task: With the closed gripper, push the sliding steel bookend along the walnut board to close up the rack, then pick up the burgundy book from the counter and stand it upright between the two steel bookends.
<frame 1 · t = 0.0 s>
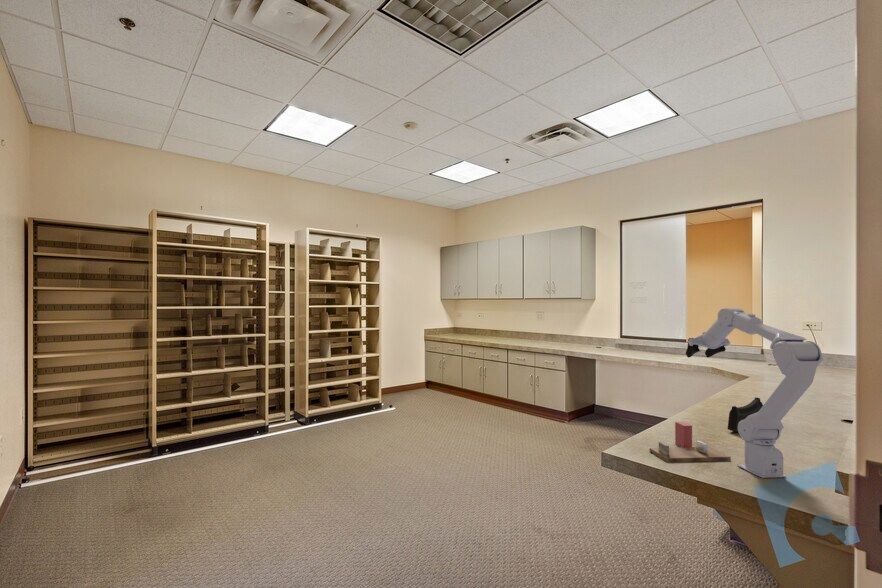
hand: (697, 355, 161), 32 cm above the worktop, tool tilted 50°, fingers open, 7 cm apart
book: (683, 445, 156), on the worktop
rack: (689, 455, 146), on the worktop
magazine: (747, 428, 181), on the worktop
sliding bookend: (701, 446, 146), point 3 cm above the worktop, slide at 5.0 cm
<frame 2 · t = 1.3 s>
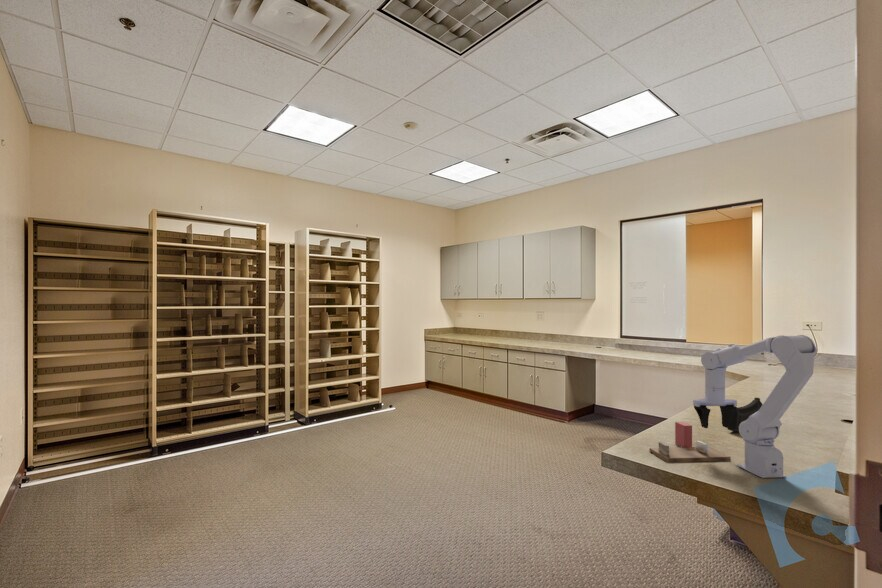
hand: (715, 427, 147), 9 cm above the worktop, tool pointing down, fingers open, 7 cm apart
nothing on the worktop moved.
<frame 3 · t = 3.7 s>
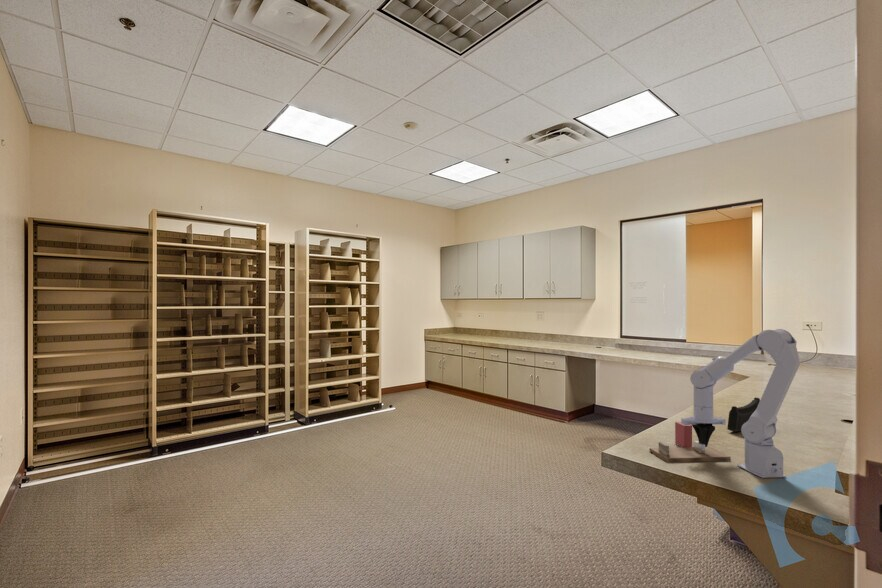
hand: (703, 445, 146), 3 cm above the worktop, tool pointing down, fingers closed
sliding bookend: (699, 447, 146), point 3 cm above the worktop, slide at 4.0 cm, touching gripper
everything else where it was.
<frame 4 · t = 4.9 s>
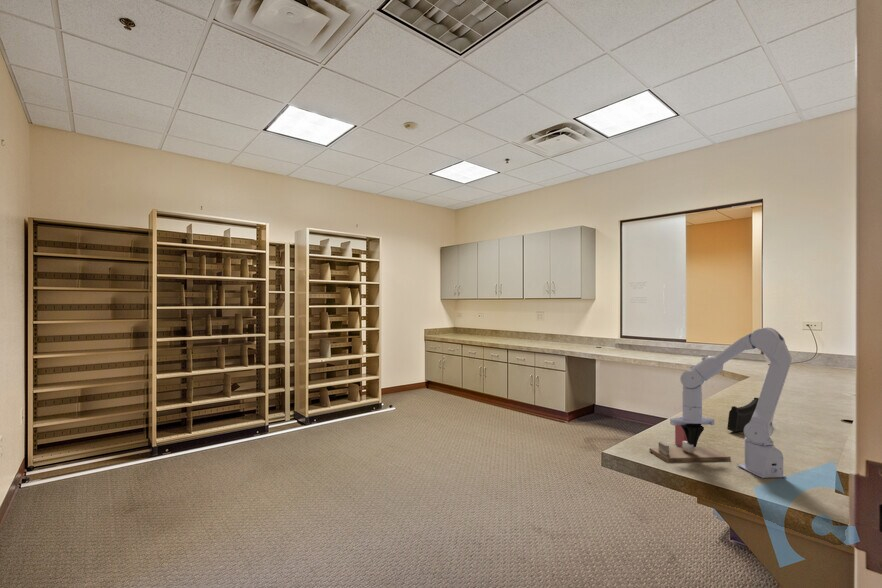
hand: (692, 446, 146), 3 cm above the worktop, tool pointing down, fingers closed
sliding bookend: (687, 447, 146), point 3 cm above the worktop, slide at 0.0 cm, touching gripper
everything else where it was.
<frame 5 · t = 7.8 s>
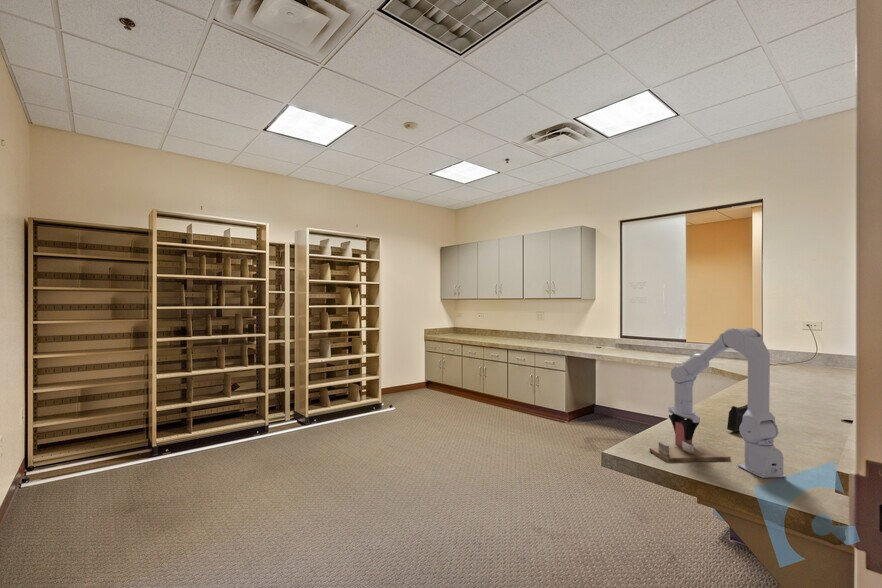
hand: (683, 437, 156), 3 cm above the worktop, tool pointing down, fingers closed on book, 5 cm apart
book: (683, 445, 156), on the worktop, touching gripper
sliding bookend: (687, 447, 146), point 3 cm above the worktop, slide at 0.0 cm
everything else where it was.
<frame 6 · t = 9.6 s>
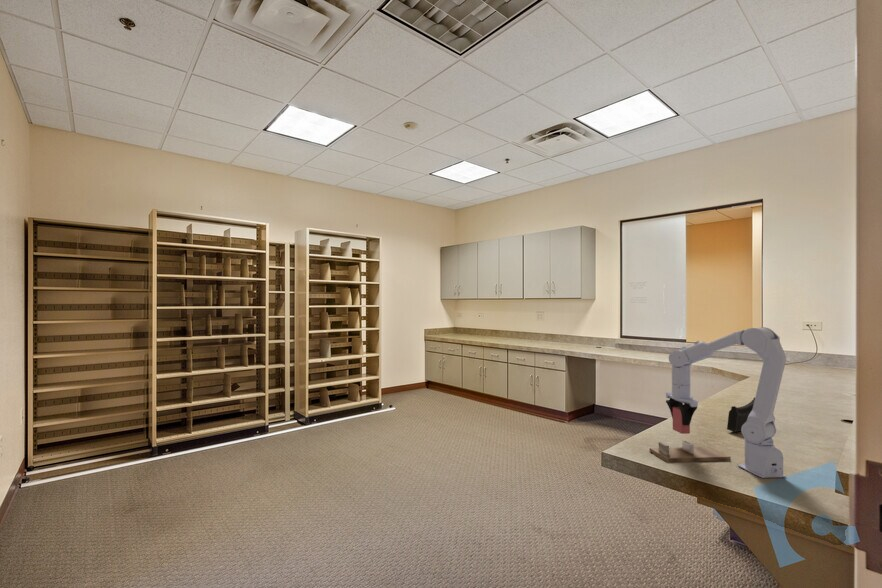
hand: (681, 422, 152), 9 cm above the worktop, tool pointing down, fingers closed on book, 5 cm apart
book: (681, 431, 152), point 6 cm above the worktop, touching gripper
everything else where it was.
when the fingers open (5 cm above the worktop, at t = 11.4 s): book stays where it is, resting on rack.
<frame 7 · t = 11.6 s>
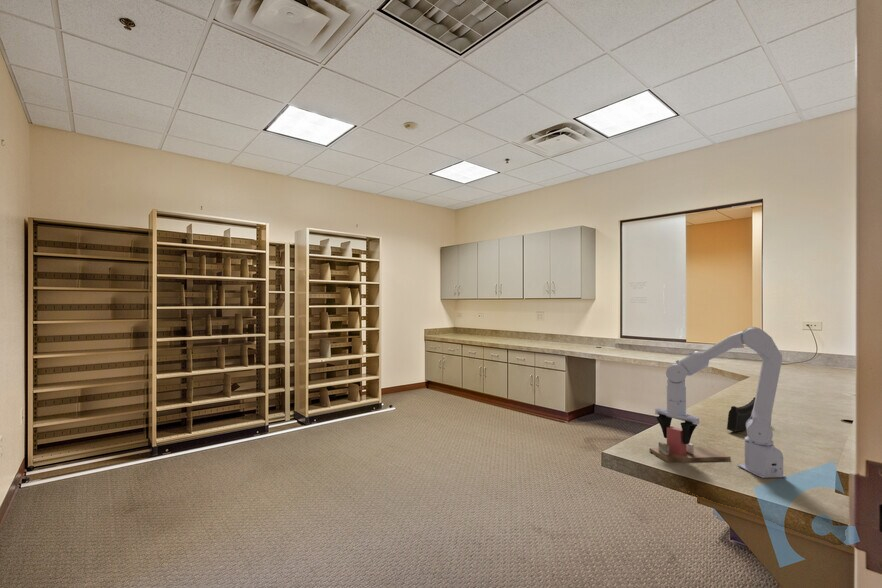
hand: (676, 440, 145), 5 cm above the worktop, tool pointing down, fingers open, 6 cm apart
book: (676, 452, 145), point 1 cm above the worktop, touching rack
everything else where it was.
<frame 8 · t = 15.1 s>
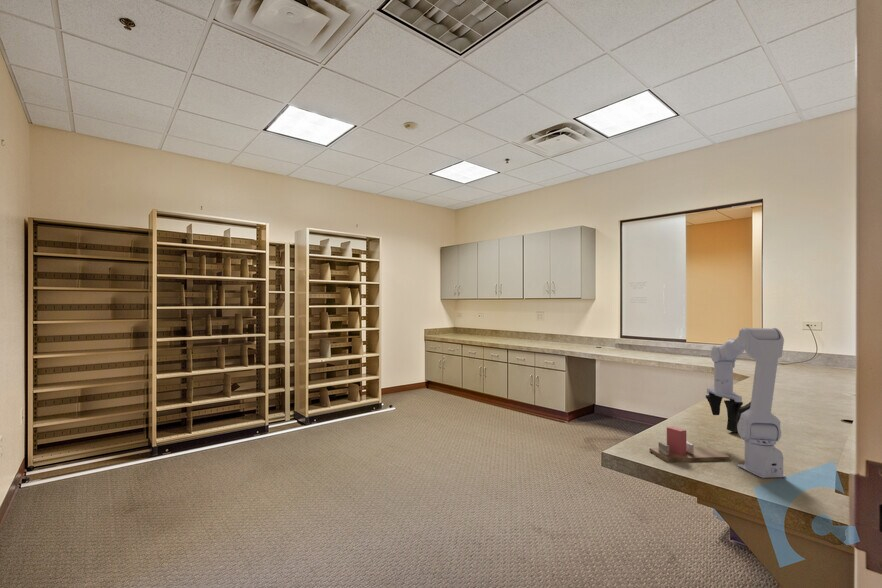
hand: (723, 417, 156), 10 cm above the worktop, tool pointing down, fingers open, 7 cm apart
nothing on the worktop moved.
at the end: sliding bookend slide at 0.0 cm; book 0.0 cm from the target spot on the rack, point 1.2 cm above the rack's base; book tilted 0° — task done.
